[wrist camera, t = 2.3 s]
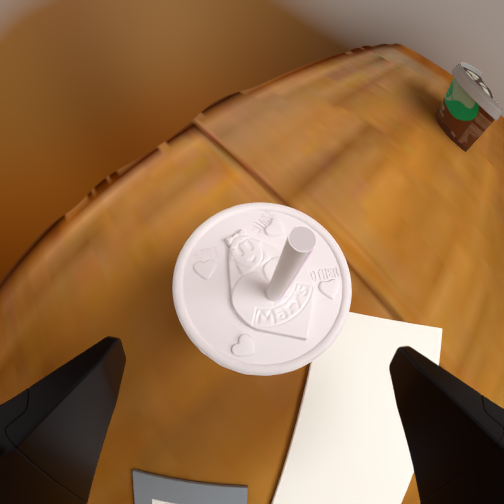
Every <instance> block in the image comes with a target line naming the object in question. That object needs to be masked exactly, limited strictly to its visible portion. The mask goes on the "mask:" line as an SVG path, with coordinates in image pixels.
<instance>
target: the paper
mask: <svg viewBox="0 0 504 504" xmlns="http://www.w3.org/2000/svg"><path fill="white" fill-rule="evenodd" d="M441 337H442V328H436V327H430V326H423V325H417V324H411V323H406V322H400V321H394V320H389V319H383V318H378V317H372V316H367V315H362V314H357V313H352V312H348V316H347V319H346V321H345V324H344V326H343V328H342V330H341V332H340V333H339V335H338V337H337V338H336V340H335V341H334V342H333V343H332V345H331V346H330V347H329V348H328V349H327V350H326V351H325V352H324V353H323V354H321V355H320V356H319V357H318V358H316V359H315V360H313V361H312V362H310V366H309V371H308V375H307V380H306V384H305V389H304V393H303V397H302V401H301V405H300V409H299V413H298V417H297V421H296V425H295V428H294V432H293V436H292V439H291V443H290V446H289V450H288V453H287V457H286V460H285V463H284V466H283V470H282V473H281V476H280V479H279V482H278V485H277V488H276V491H275V494H274V497H273V500H272V502H271V504H401V502H402V500H403V498H404V495H405V493H406V490H407V488H408V485H409V483H410V480H411V477H412V475H413V472H414V469H413V464H412V460H411V456H410V452H409V448H408V444H407V441H406V437H405V433H404V430H403V426H402V423H401V419H400V416H399V412H398V409H397V405H396V400H395V395H394V390H393V385H392V380H391V376H390V371H389V366H390V362H391V360H392V358H393V356H394V354H395V352H396V350H397V349H398V348H399V347H401V346H410V347H412V348H413V349H415V350H416V351H418V352H419V353H421V354H422V355H424V356H425V357H427V358H428V359H430V360H431V361H433V362H434V363H436V364H437V365H439V358H440V349H441Z"/></svg>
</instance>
